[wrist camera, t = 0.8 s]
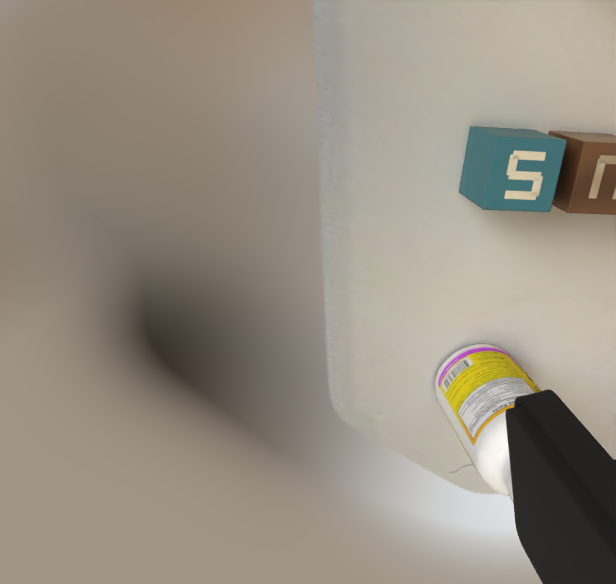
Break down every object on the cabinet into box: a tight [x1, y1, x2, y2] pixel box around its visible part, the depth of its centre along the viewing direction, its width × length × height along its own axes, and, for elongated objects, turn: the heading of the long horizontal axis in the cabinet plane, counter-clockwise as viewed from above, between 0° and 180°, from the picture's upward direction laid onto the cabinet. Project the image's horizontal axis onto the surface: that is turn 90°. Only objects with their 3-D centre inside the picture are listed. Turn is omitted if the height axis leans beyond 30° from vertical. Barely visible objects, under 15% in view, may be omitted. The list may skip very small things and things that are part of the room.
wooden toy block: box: [549, 131, 616, 215], centre depth 38 cm, size 4×4×4 cm
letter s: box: [459, 126, 567, 212], centre depth 37 cm, size 4×4×4 cm
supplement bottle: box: [435, 344, 541, 503], centre depth 40 cm, size 7×7×13 cm
